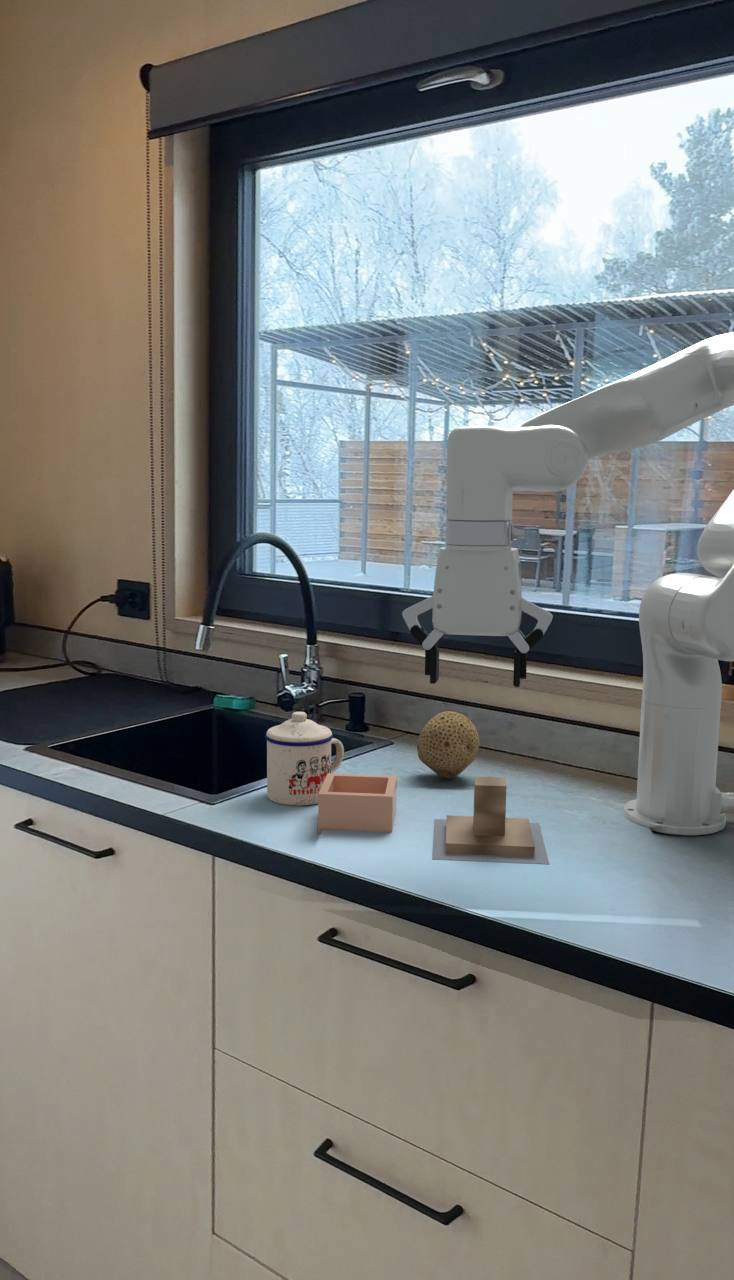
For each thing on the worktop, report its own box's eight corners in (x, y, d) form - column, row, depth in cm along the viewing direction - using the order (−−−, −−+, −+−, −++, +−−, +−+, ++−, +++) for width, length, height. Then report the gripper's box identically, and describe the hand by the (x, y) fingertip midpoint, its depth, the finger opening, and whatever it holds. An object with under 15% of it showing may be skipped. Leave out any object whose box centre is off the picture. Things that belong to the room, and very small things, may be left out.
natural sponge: (481, 788, 143) (483, 719, 142) (417, 787, 144) (419, 718, 142) (475, 771, 152) (477, 705, 151) (415, 769, 152) (417, 704, 151)
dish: (396, 813, 132) (396, 775, 131) (392, 836, 123) (392, 796, 123) (327, 810, 133) (327, 773, 132) (318, 833, 124) (318, 793, 123)
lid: (528, 827, 125) (530, 771, 124) (534, 857, 115) (536, 795, 114) (446, 824, 126) (447, 768, 125) (445, 853, 116) (447, 792, 115)
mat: (538, 827, 127) (539, 823, 127) (549, 869, 113) (549, 864, 113) (434, 823, 128) (434, 819, 128) (431, 864, 115) (432, 859, 114)
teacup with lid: (291, 811, 132) (291, 723, 131) (252, 794, 139) (251, 711, 138) (362, 794, 140) (363, 711, 138) (322, 779, 147) (322, 700, 145)
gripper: (555, 535, 119) (550, 680, 122) (408, 533, 122) (406, 674, 125) (555, 539, 112) (550, 692, 114) (398, 537, 115) (397, 686, 117)
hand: (475, 683), depth 119 cm, fingers open, 9 cm apart
